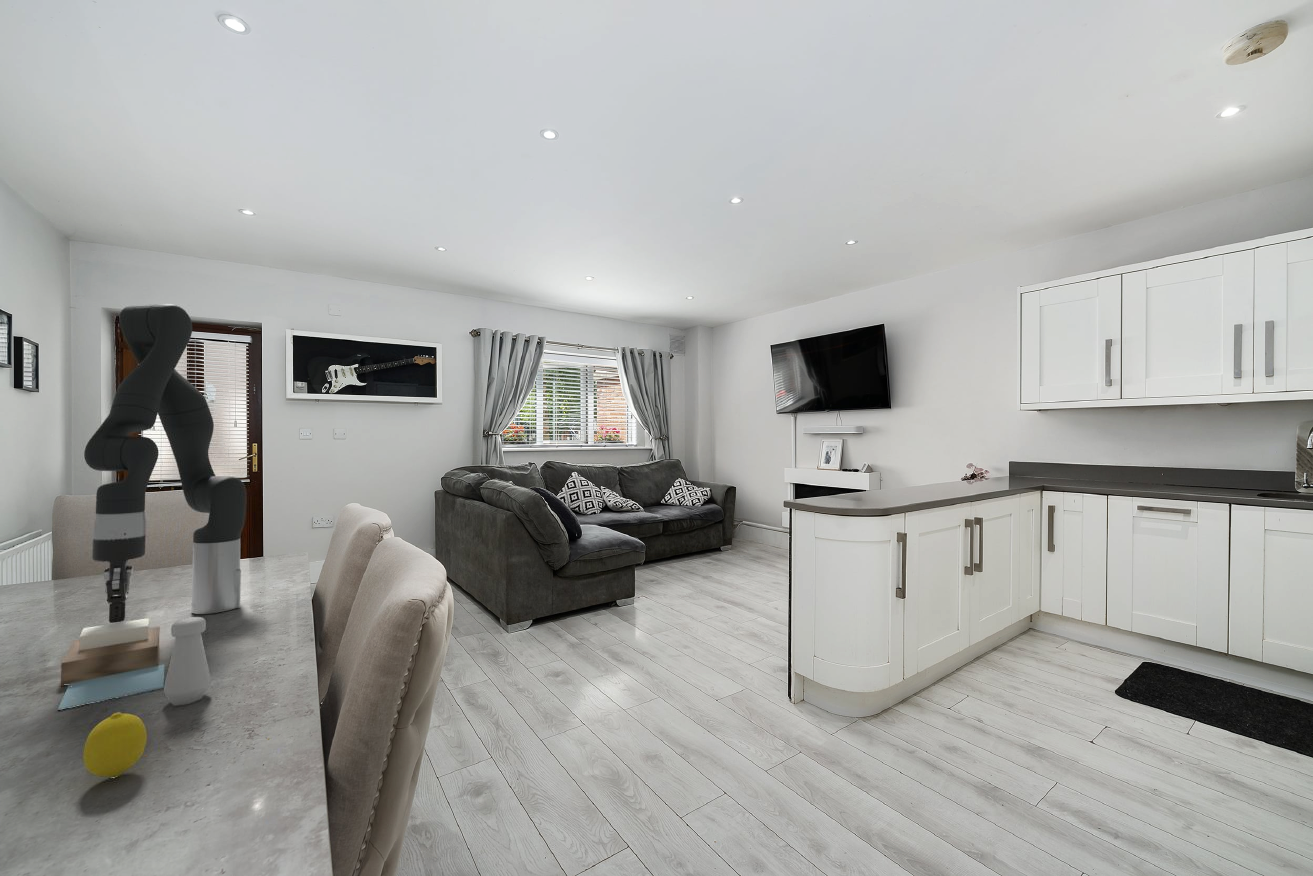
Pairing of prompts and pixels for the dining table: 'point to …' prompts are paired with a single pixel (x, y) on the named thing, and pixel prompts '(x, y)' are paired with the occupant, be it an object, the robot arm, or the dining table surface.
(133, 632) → the white bevelled block
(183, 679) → the salt shaker
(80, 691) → the mat
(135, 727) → the lemon
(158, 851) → the dining table surface
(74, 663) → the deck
